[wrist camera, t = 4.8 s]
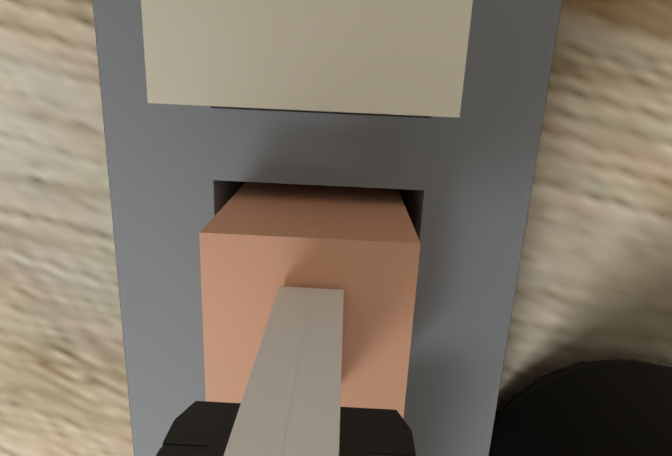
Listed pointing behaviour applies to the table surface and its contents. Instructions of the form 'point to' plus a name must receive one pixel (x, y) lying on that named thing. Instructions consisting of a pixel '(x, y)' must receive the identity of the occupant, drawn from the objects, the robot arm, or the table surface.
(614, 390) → the coffee jar
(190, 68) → the cream button
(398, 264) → the terracotta button
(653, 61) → the table surface
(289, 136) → the slate panel
